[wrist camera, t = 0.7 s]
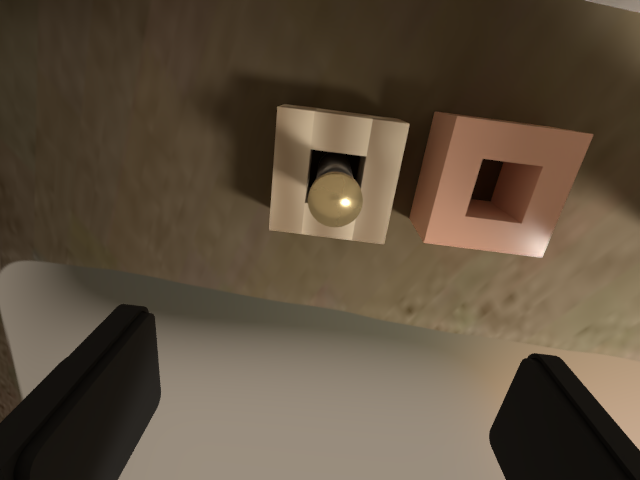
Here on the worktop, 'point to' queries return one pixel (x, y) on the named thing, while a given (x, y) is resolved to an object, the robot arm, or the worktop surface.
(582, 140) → the dock
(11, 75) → the worktop surface
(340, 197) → the pin
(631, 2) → the milk
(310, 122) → the mount
